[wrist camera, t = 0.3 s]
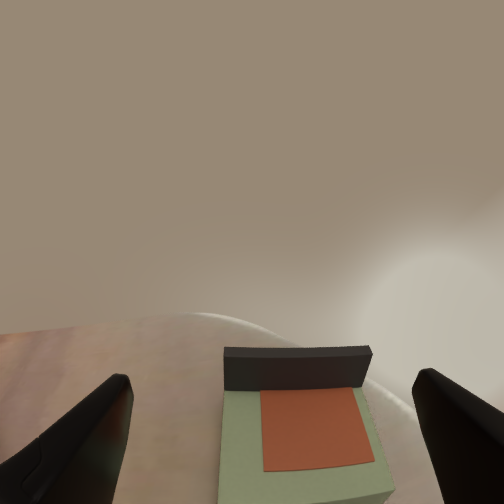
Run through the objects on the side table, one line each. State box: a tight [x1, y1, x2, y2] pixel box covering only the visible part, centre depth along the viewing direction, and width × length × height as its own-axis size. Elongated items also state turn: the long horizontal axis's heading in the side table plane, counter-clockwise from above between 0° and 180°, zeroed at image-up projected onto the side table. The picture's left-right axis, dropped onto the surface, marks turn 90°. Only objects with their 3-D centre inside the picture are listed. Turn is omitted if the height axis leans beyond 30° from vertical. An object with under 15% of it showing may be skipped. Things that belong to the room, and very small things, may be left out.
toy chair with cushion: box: [217, 345, 395, 504], centre depth 21 cm, size 12×12×7 cm
